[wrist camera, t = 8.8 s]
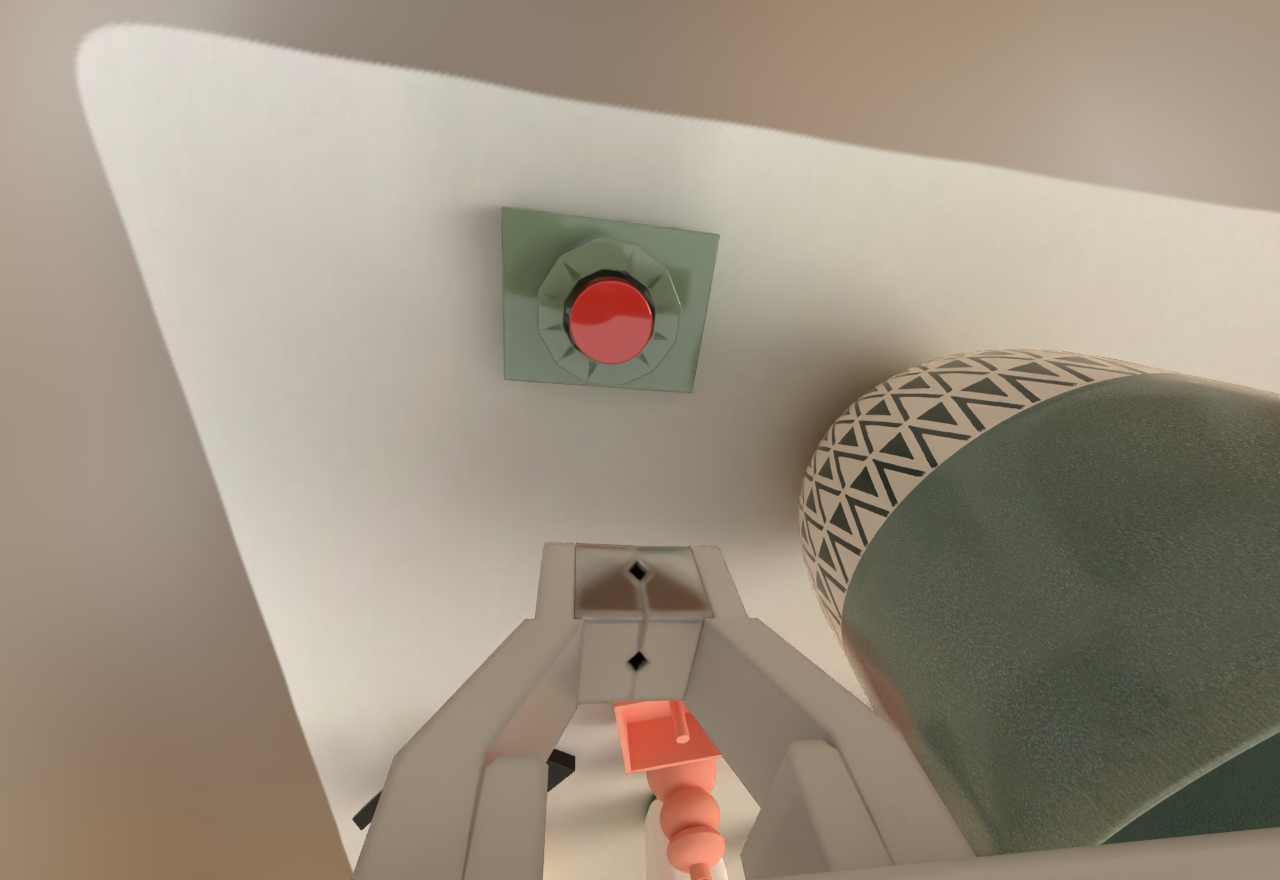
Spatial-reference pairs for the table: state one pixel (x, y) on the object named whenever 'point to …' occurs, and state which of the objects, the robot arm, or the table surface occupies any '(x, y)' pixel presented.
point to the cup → (658, 869)
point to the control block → (584, 250)
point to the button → (610, 320)
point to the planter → (1061, 591)
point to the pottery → (675, 778)
